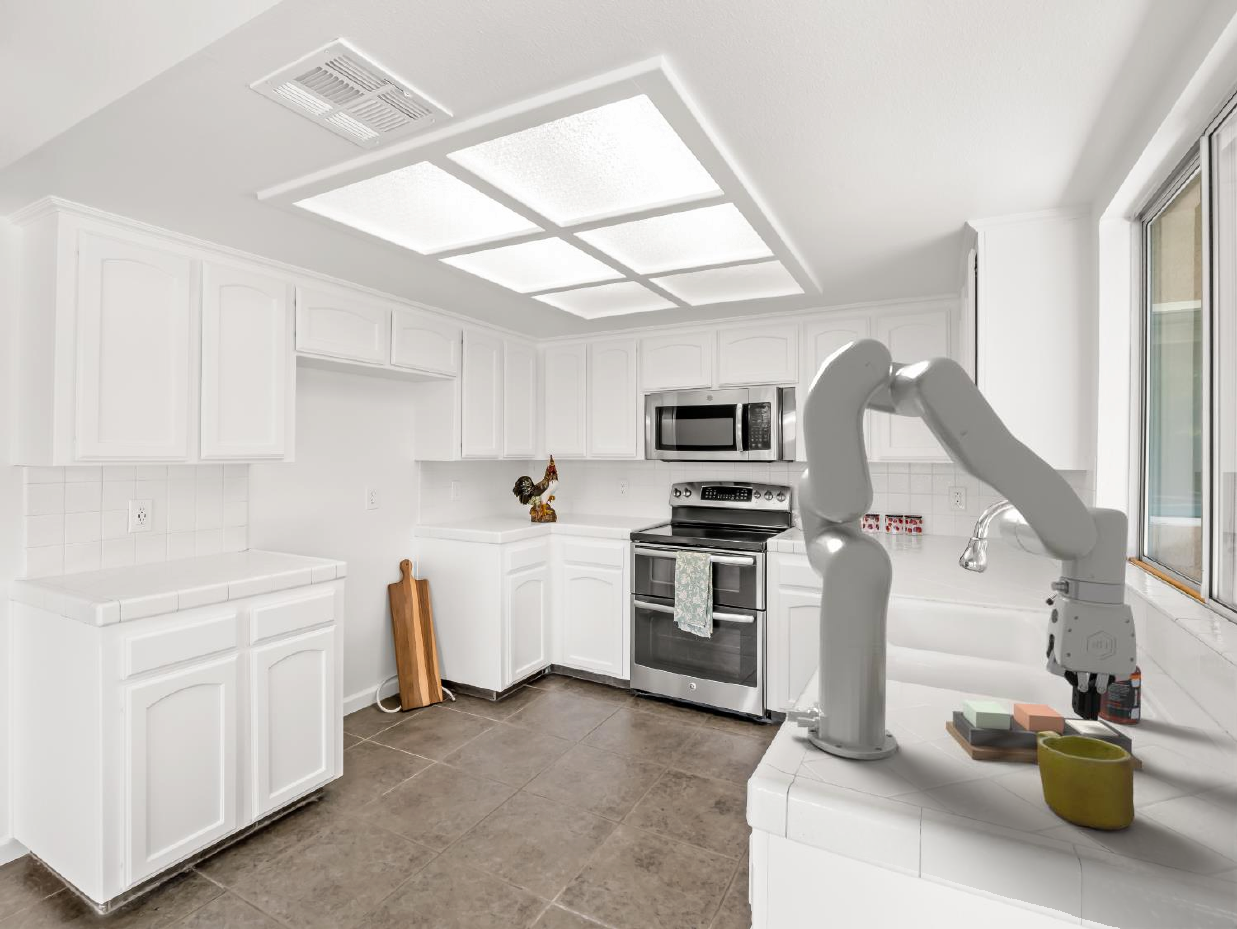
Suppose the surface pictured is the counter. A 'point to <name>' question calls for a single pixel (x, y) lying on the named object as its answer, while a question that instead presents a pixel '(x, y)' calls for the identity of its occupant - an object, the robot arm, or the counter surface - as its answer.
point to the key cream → (1090, 728)
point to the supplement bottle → (1123, 700)
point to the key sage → (986, 715)
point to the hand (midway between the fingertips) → (1085, 716)
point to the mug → (1086, 780)
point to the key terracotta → (1038, 718)
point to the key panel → (1019, 740)
